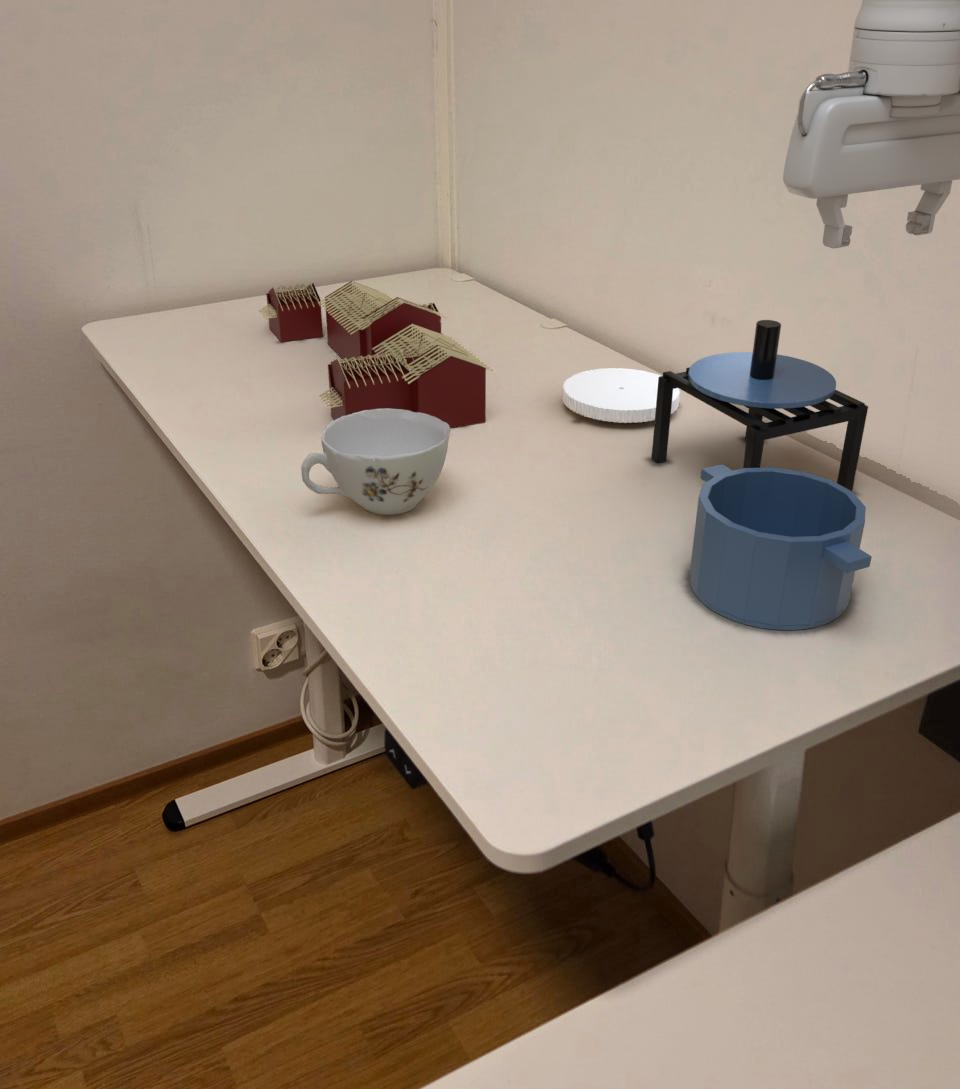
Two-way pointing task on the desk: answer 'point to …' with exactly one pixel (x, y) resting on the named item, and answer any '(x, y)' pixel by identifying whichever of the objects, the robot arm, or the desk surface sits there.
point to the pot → (776, 547)
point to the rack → (762, 431)
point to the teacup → (382, 458)
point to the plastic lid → (615, 394)
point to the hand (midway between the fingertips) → (877, 239)
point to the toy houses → (384, 353)
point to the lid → (762, 375)
